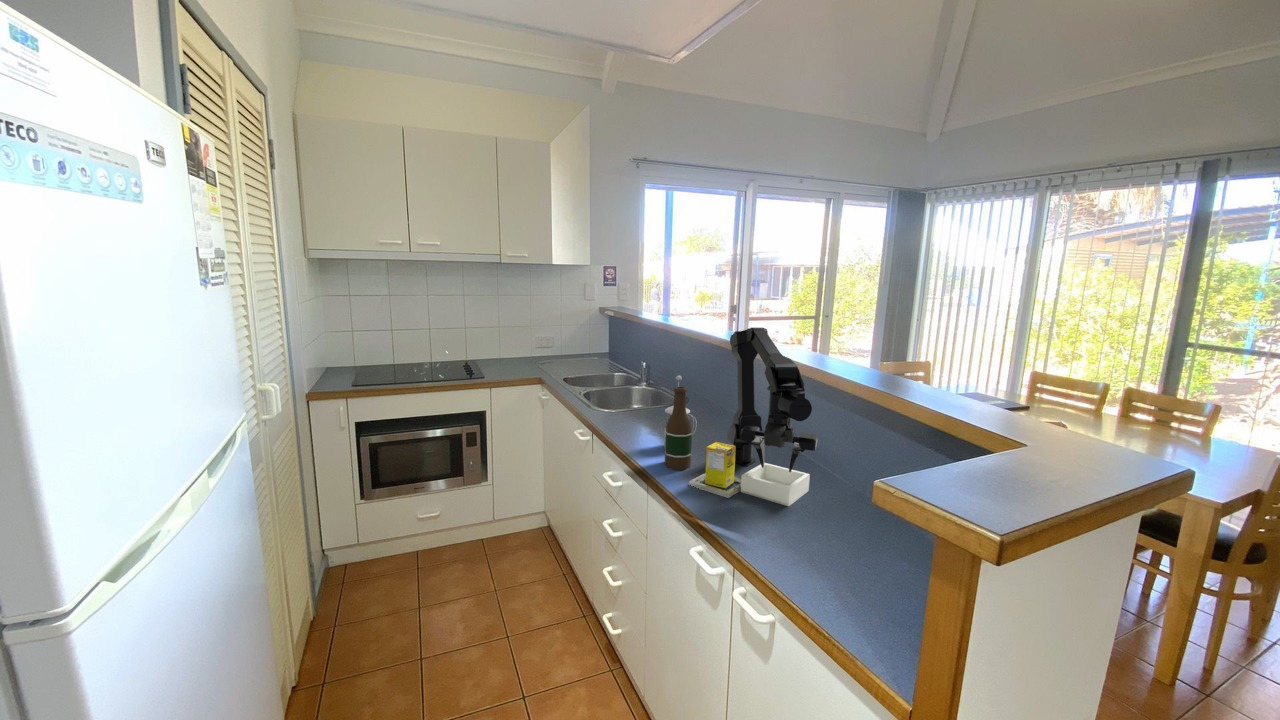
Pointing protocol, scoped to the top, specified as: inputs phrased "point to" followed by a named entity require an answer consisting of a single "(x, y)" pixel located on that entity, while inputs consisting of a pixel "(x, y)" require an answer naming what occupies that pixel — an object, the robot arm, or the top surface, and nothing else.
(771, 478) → the bin
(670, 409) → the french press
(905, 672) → the top surface
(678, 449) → the beer bottle
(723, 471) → the supplement box
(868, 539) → the top surface
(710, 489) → the collar
